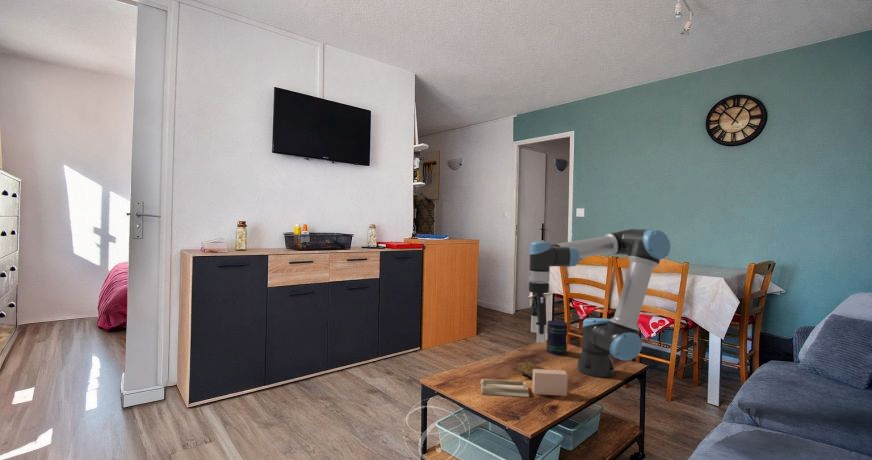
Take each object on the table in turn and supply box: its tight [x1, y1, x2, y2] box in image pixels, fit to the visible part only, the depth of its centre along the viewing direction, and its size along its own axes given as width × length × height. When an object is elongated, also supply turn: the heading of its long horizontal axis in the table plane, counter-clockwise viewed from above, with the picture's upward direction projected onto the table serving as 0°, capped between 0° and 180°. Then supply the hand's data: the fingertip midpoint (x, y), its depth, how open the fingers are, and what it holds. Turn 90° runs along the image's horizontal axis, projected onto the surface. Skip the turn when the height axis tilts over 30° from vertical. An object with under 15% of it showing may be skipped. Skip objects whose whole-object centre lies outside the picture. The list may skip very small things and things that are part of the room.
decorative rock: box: [517, 361, 547, 380], centre depth 165 cm, size 11×4×15 cm
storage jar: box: [546, 319, 568, 356], centre depth 196 cm, size 10×10×15 cm
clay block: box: [531, 369, 569, 397], centre depth 147 cm, size 12×4×8 cm, turn 87°
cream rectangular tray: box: [480, 378, 530, 398], centre depth 148 cm, size 10×17×2 cm, turn 87°
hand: (537, 337), depth 150 cm, fingers open, 13 cm apart
